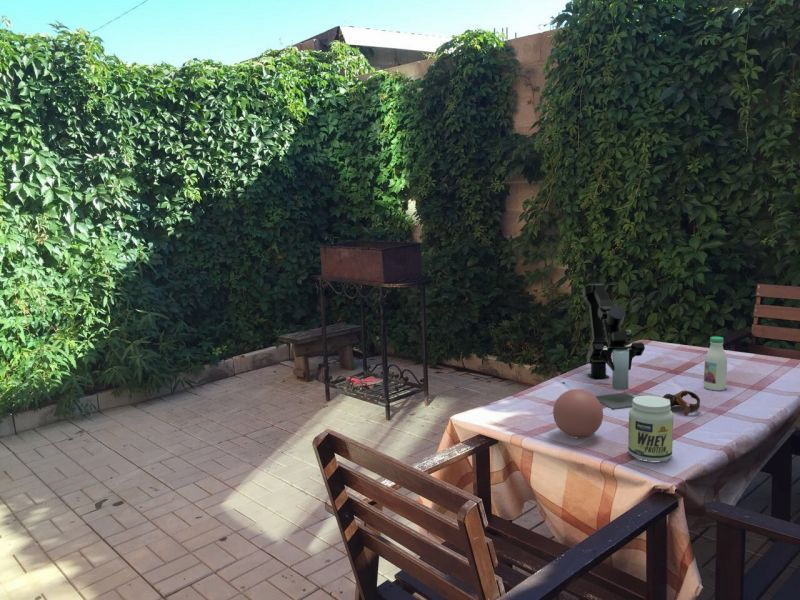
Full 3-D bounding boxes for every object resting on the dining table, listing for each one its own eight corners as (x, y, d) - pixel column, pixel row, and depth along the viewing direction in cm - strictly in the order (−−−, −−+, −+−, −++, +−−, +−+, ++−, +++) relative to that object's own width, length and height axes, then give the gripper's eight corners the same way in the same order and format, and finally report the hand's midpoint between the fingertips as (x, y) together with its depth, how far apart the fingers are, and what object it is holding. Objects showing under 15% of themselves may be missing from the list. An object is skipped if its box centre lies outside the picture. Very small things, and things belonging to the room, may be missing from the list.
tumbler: (613, 384, 240) (614, 348, 237) (629, 386, 237) (630, 349, 235) (611, 388, 235) (611, 351, 232) (627, 390, 232) (627, 353, 230)
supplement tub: (631, 463, 185) (632, 407, 182) (625, 446, 196) (626, 393, 194) (676, 465, 182) (678, 408, 179) (667, 448, 194) (669, 394, 191)
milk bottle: (721, 384, 250) (723, 335, 247) (729, 391, 243) (731, 339, 239) (700, 385, 251) (702, 335, 248) (708, 391, 244) (710, 340, 240)
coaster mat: (591, 397, 242) (591, 396, 242) (624, 393, 245) (624, 392, 245) (612, 409, 228) (612, 408, 228) (646, 404, 232) (646, 403, 232)
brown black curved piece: (691, 407, 229) (701, 391, 224) (694, 426, 222) (704, 410, 217) (657, 398, 231) (666, 382, 226) (659, 417, 224) (668, 401, 218)
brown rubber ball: (615, 428, 211) (615, 383, 208) (591, 449, 195) (592, 401, 193) (570, 420, 220) (570, 377, 218) (545, 439, 205) (544, 393, 202)
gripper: (592, 322, 236) (599, 359, 227) (643, 321, 235) (653, 358, 226) (587, 338, 245) (594, 374, 236) (636, 336, 244) (645, 373, 235)
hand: (621, 369), depth 233 cm, fingers closed on tumbler, 6 cm apart
